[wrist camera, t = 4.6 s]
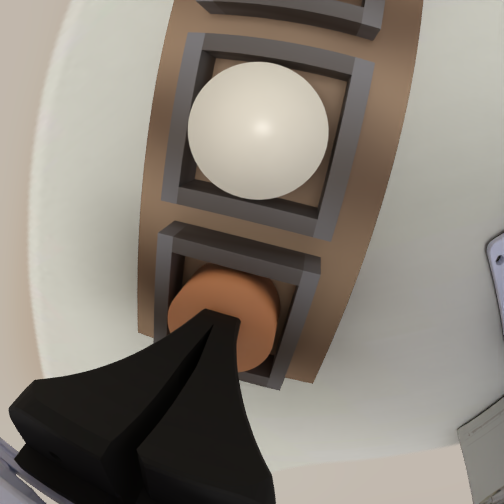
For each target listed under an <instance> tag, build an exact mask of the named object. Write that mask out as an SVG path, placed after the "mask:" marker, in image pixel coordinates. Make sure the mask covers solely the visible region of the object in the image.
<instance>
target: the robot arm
mask: <svg viewBox="0 0 504 504" xmlns="http://www.w3.org/2000/svg"><path fill="white" fill-rule="evenodd" d="M499 255H501V257H500V259H499V261H497V262H496V259H497V257H498V256H499ZM487 256H488V259H489V263H490V267H491V271H492V275H493V280H494V284H495V288H496V293H497V298H498V303H499V309H500V314H501V320H502V326H503V333H504V233H503V234H501V235H500V236H498V237H496V238H495V239H493V240H492V241H491V242H490V243H489V245H488V246H487ZM240 324H241V321H240V319H239V318H237V317H233V316H230V315H226V314H223V313H219V312H216V311H213V310H209V309H206V308H205V309H203V310H201V311H200V312H199V313H198V314H196V315H195V316H194V317H192V318H191V319H190V320H188V321H187V322H186V323H184V324H183V325H182V326H180V327H179V328H177V329H176V330H174V331H173V332H171V333H170V334H168V335H167V336H165V337H164V338H162V339H160V340H159V341H157V342H155V343H154V344H152V345H150V346H148V347H147V348H145V349H143V350H141V351H139V352H137V353H135V354H133V355H131V356H129V357H126V358H124V359H122V360H119V361H117V362H114V363H111V364H109V365H106V366H103V367H100V368H97V369H93V370H90V371H86V372H82V373H78V374H73V375H68V376H63V377H55V378H48V379H39V380H34V381H33V382H32V383H31V384H30V385H29V386H28V387H27V388H26V389H25V390H24V391H23V392H22V393H21V394H20V396H19V397H18V398H17V399H16V400H15V401H14V402H13V404H12V405H11V406H10V407H9V415H10V418H11V420H12V422H13V423H14V425H15V427H16V428H17V430H18V432H19V433H20V435H21V436H22V438H23V439H24V441H25V442H26V444H25V445H24V446H23V448H22V449H21V450H20V452H18V451H17V450H15V449H14V448H13V447H12V446H10V445H9V444H8V443H6V442H5V441H4V440H3V439H1V438H0V504H46V503H45V502H44V501H43V500H42V499H41V498H40V497H39V496H38V495H37V494H36V493H35V492H34V490H33V489H32V488H30V487H29V486H28V485H27V484H25V483H24V482H23V481H22V480H21V479H19V478H18V477H17V476H16V474H17V475H19V476H20V477H21V478H22V479H24V480H25V481H26V482H28V483H29V484H31V485H32V486H33V487H35V488H36V489H38V490H39V491H40V492H42V493H43V494H45V495H47V496H48V497H50V498H51V499H53V500H54V501H56V502H57V503H59V504H276V501H275V492H274V485H273V479H272V474H271V472H270V471H269V469H268V467H267V465H266V463H265V461H264V459H263V457H262V455H261V452H260V450H259V448H258V445H257V443H256V441H255V438H254V435H253V432H252V430H251V427H250V424H249V421H248V418H247V415H246V411H245V407H244V403H243V399H242V394H241V389H240V384H239V377H238V368H237V338H238V333H239V329H240ZM15 473H16V474H15Z"/></svg>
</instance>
